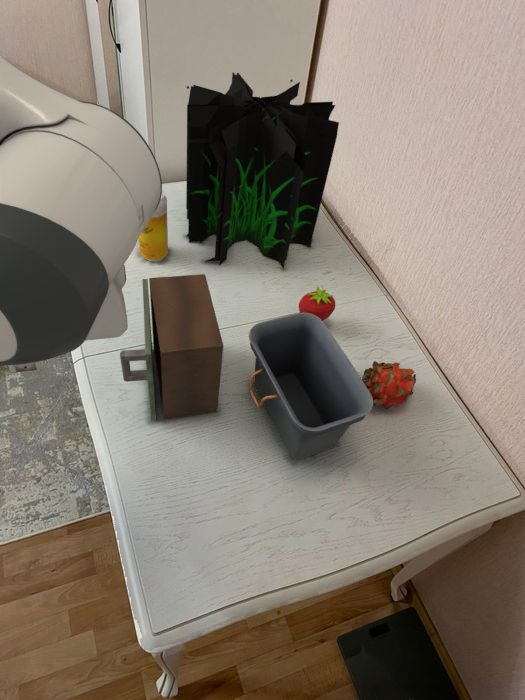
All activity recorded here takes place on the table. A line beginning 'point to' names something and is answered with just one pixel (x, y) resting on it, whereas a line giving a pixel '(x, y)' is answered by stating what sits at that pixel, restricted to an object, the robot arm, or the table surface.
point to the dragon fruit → (389, 383)
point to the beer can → (155, 234)
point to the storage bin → (306, 383)
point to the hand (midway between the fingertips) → (27, 366)
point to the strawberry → (317, 304)
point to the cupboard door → (142, 356)
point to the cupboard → (185, 345)
